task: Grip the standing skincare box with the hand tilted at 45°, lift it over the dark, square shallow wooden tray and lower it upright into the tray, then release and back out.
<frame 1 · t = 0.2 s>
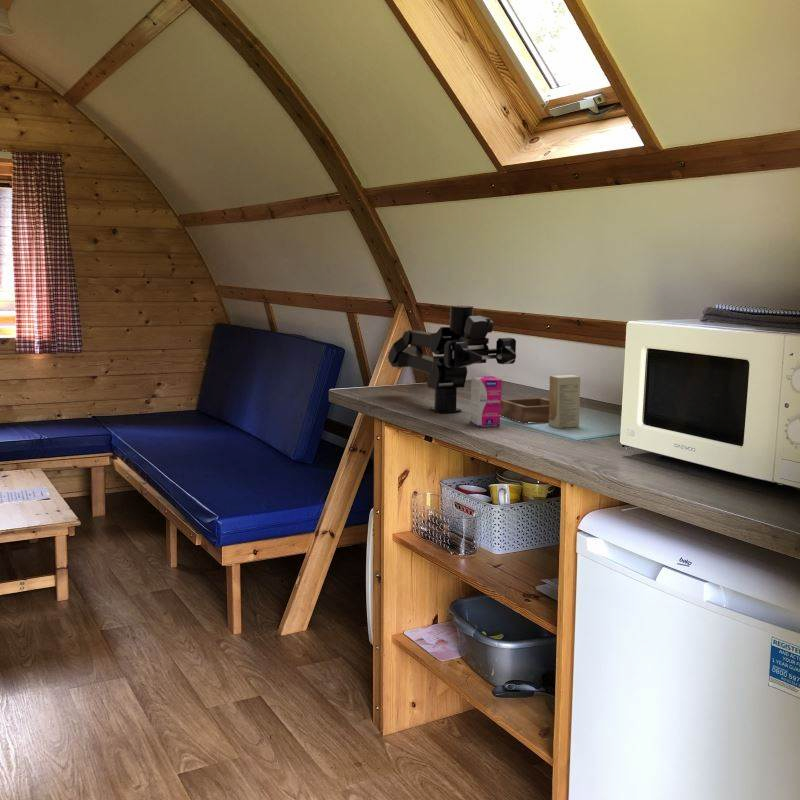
hand: (498, 357, 206), 17 cm above the worktop, tool horizontal, fingers open, 9 cm apart
supplement box: (484, 425, 212), on the worktop
shallow wooden tray: (532, 418, 222), on the worktop
skincare box: (563, 427, 212), on the worktop
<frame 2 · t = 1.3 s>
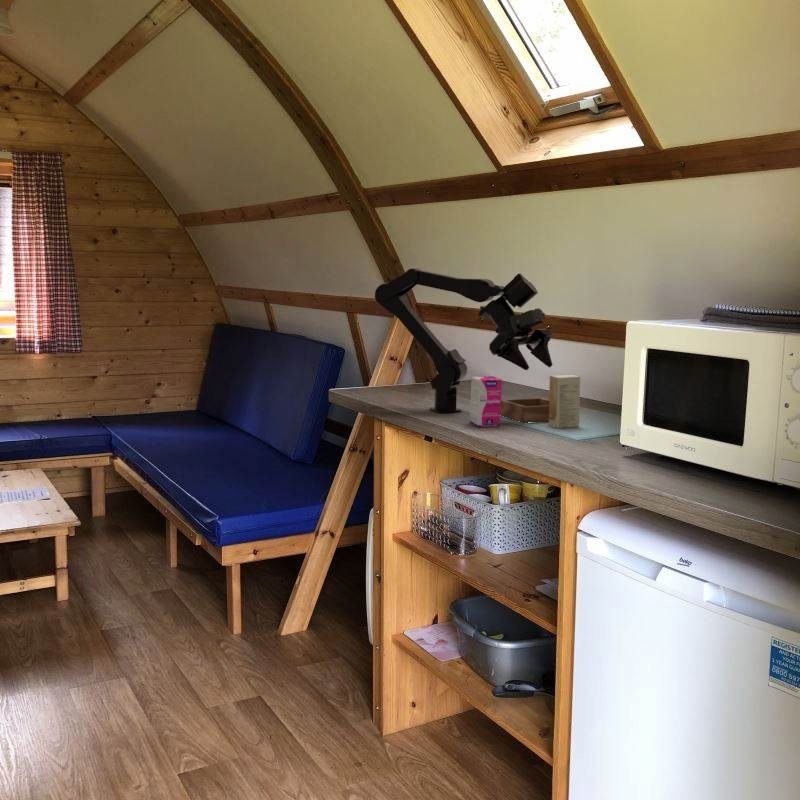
hand: (539, 367, 215), 13 cm above the worktop, tool tilted 45°, fingers open, 9 cm apart
nothing on the worktop moved.
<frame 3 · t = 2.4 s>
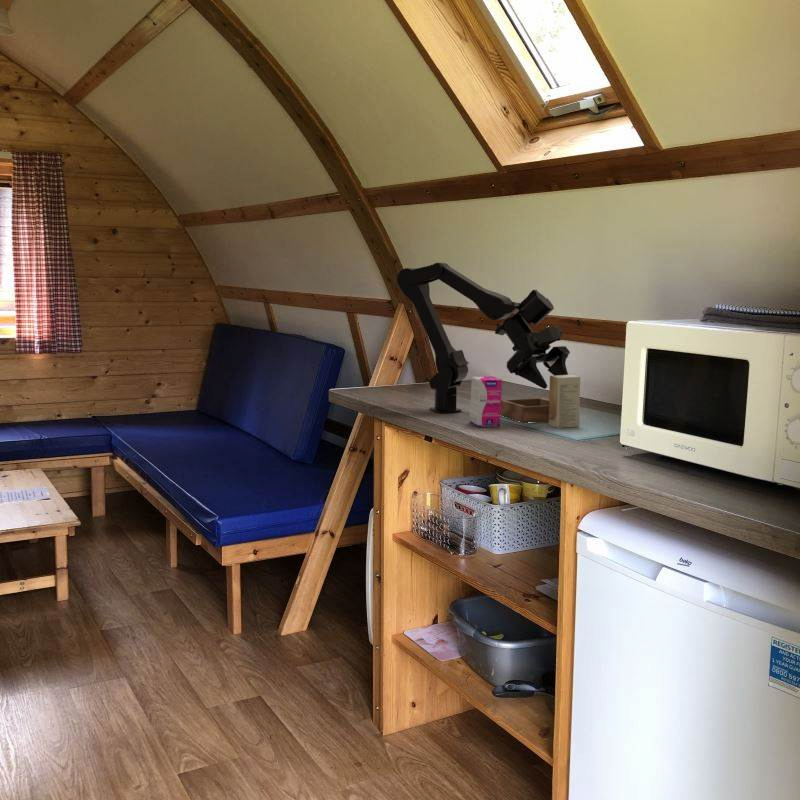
hand: (557, 385, 212), 9 cm above the worktop, tool tilted 45°, fingers open, 9 cm apart
nothing on the worktop moved.
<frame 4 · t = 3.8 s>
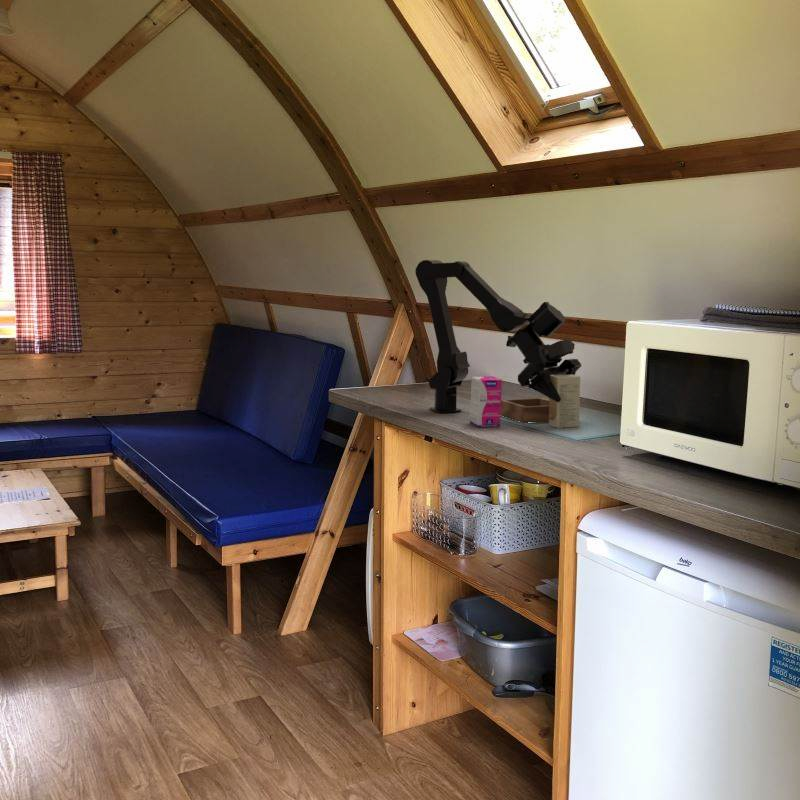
hand: (569, 399, 210), 7 cm above the worktop, tool tilted 45°, fingers closed on skincare box, 7 cm apart
skincare box: (563, 427, 212), on the worktop, touching gripper
everything else where it was.
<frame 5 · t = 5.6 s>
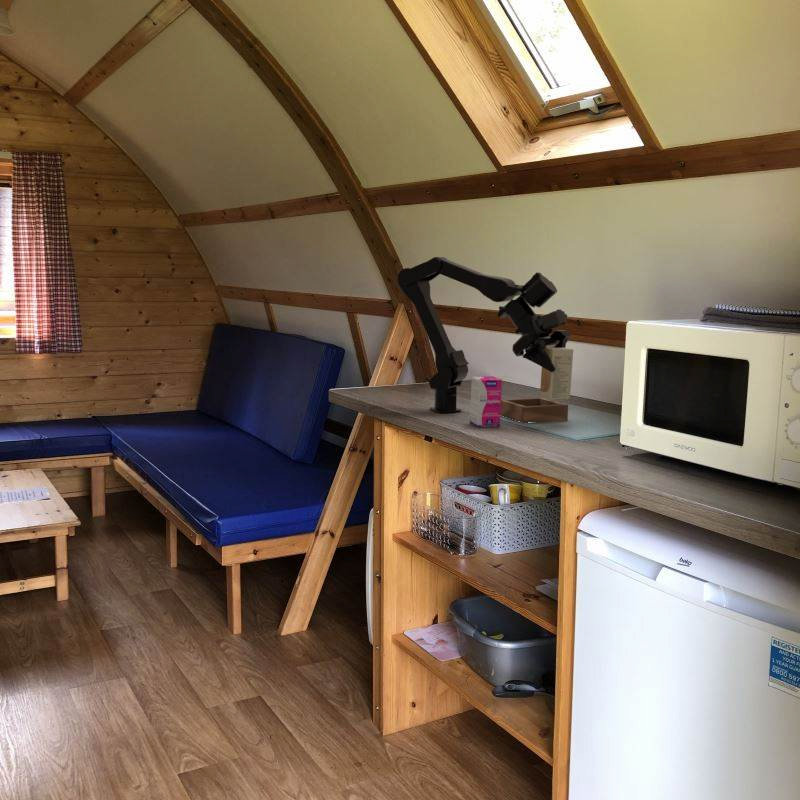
hand: (561, 369, 212), 13 cm above the worktop, tool tilted 45°, fingers closed on skincare box, 7 cm apart
skincare box: (554, 399, 214), point 6 cm above the worktop, touching gripper
everything else where it was.
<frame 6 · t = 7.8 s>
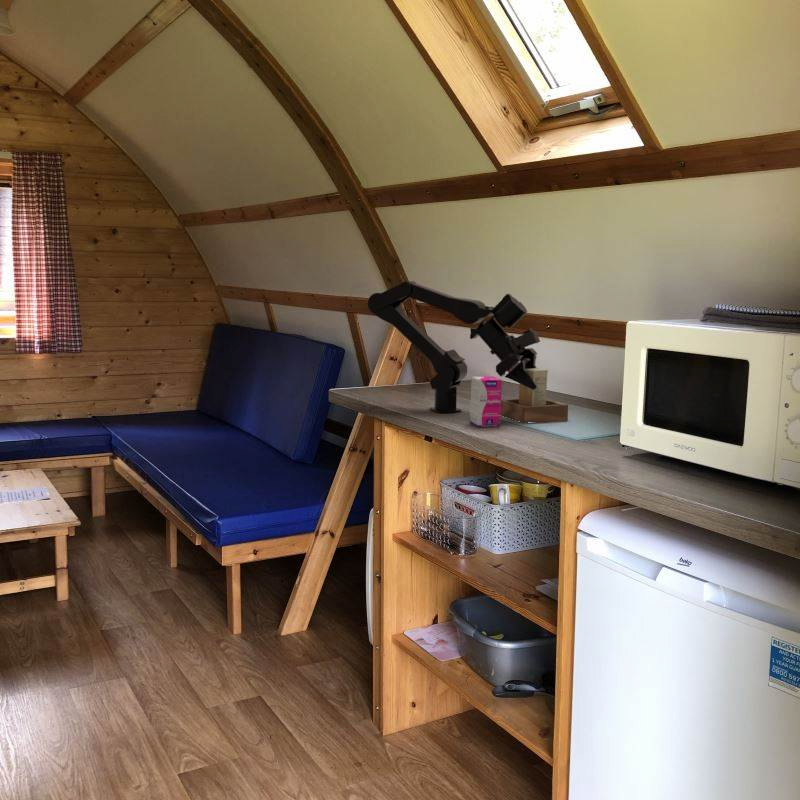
hand: (539, 386, 221), 8 cm above the worktop, tool tilted 45°, fingers closed on skincare box, 7 cm apart
skincare box: (531, 418, 222), resting in shallow wooden tray, touching gripper
everything else where it was.
when the fingers open (8 cm above the worktop, at t = 8.1 s): skincare box stays where it is, resting in shallow wooden tray.
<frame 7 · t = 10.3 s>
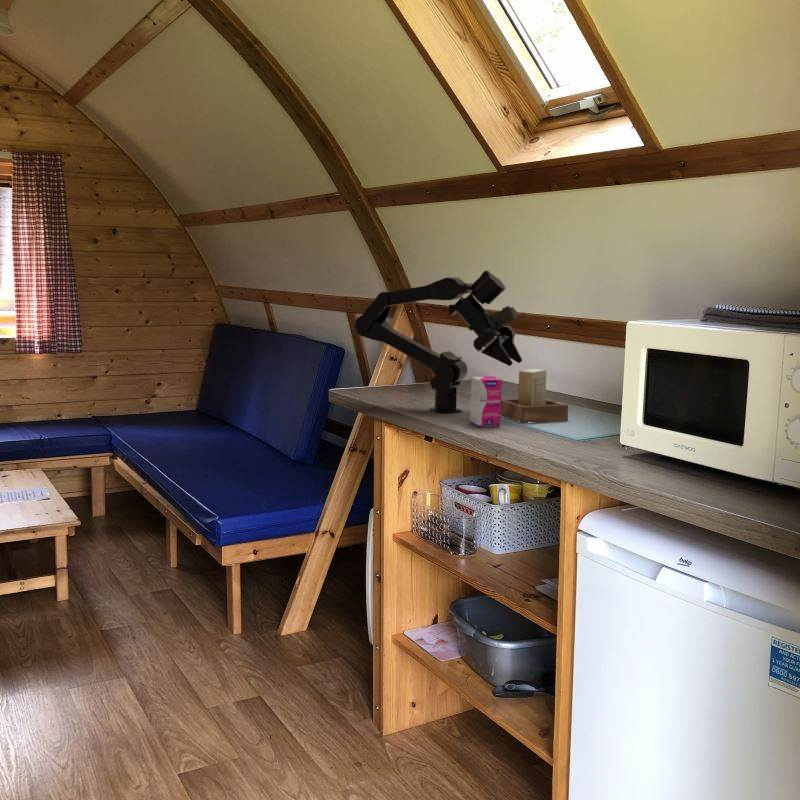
hand: (516, 363, 222), 14 cm above the worktop, tool tilted 45°, fingers open, 9 cm apart
skincare box: (531, 419, 222), resting in shallow wooden tray
everything else where it was.
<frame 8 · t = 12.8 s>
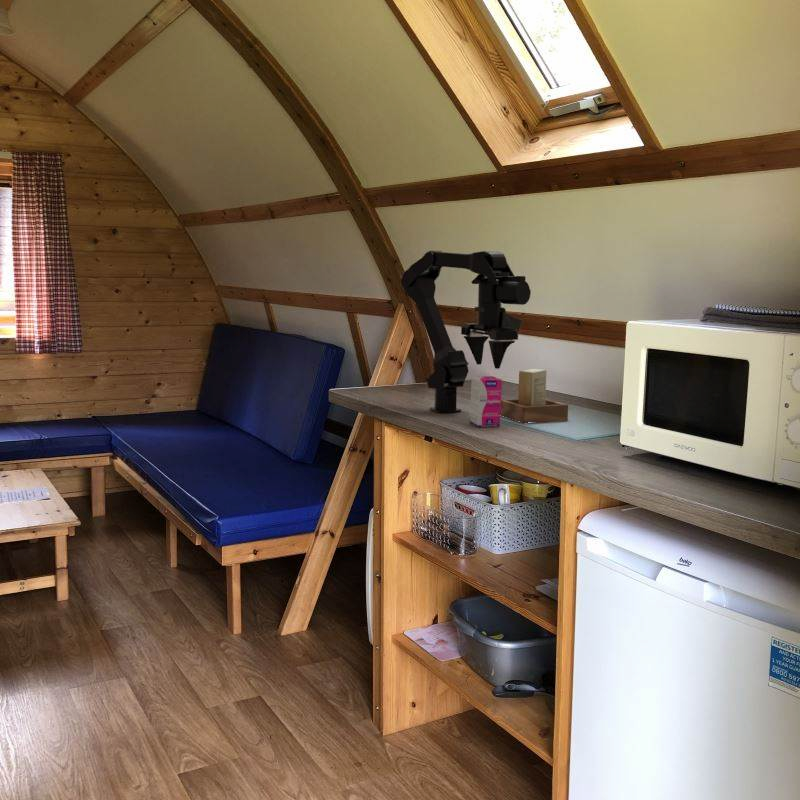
hand: (487, 366, 220), 13 cm above the worktop, tool pointing down, fingers open, 9 cm apart
nothing on the worktop moved.
at the end: skincare box 0.4 cm off-centre on the shallow wooden tray, point 0.0 cm above the shallow wooden tray's base; skincare box tilted 0°; the gripper is holding nothing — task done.
